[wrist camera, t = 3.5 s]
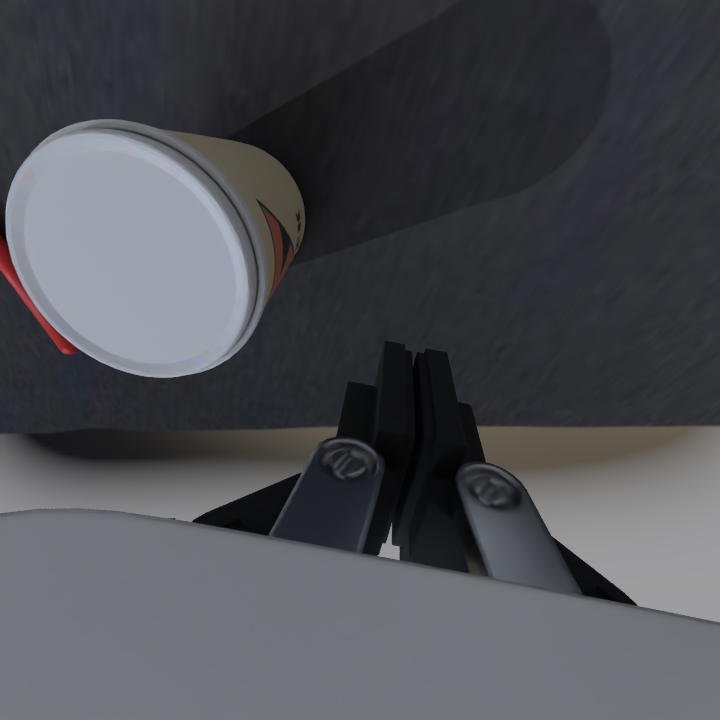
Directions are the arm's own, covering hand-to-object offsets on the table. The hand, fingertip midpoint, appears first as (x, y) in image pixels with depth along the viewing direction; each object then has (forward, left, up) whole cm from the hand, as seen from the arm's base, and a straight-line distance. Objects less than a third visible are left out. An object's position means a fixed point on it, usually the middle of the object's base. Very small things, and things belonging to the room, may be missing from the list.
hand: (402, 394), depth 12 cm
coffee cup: (+10, 0, -16) cm, 19 cm away
